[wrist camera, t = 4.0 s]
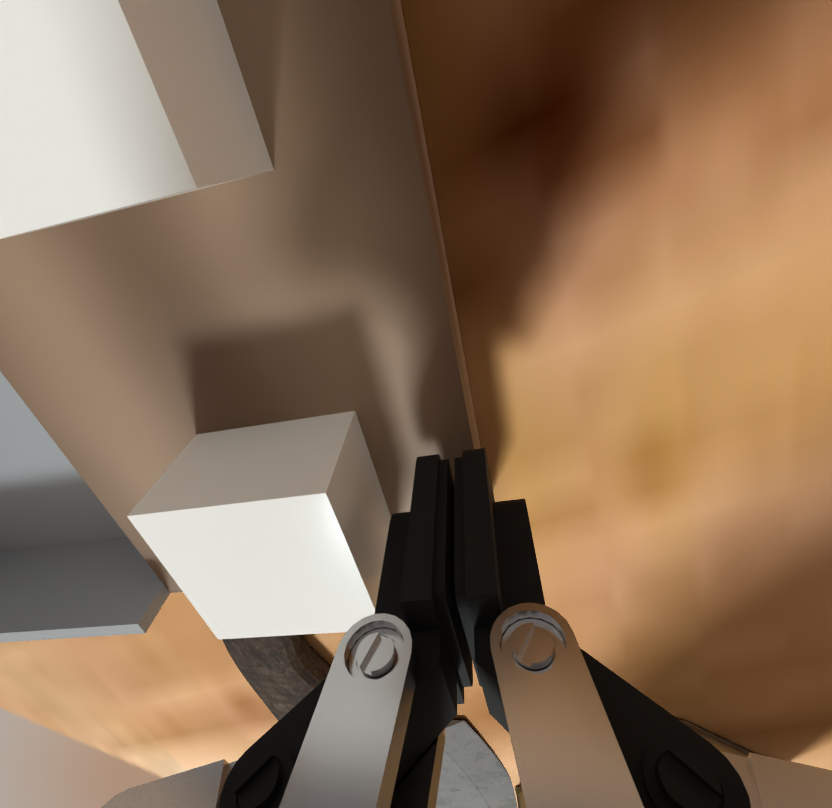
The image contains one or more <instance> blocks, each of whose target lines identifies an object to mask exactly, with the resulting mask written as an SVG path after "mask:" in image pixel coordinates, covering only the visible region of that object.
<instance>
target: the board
mask: <svg viewBox="0 0 832 808" xmlns="http://www.w3.org/2000/svg"><path fill="white" fill-rule="evenodd" d="M217 2H218V5H219V8H220V11H221V14H222V17H223V20H224V23H225V26H226V29H227V32H228V35H229V38H230V41H231V44H232V47H233V50H234V53H235V56H236V59H237V62H238V65H239V68H240V71H241V74H242V77H243V80H244V82H245V85H246V88H247V91H248V94H249V97H250V100H251V103H252V106H253V109H254V112H255V115H256V118H257V121H258V124H259V127H260V130H261V133H262V136H263V139H264V142H265V145H266V148H267V151H268V154H269V157H270V160H271V163H272V166H273V169H274V170H273V171H270V172H266V173H262V174H258V175H254V176H250V177H246V178H242V179H238V180H234V181H231V182H227V183H223V184H219V185H215V186H211V187H207V188H203V189H199V190H195V191H191V192H188V193H184V194H180V195H176V196H172V197H168V198H164V199H160V200H156V201H152V202H149V203H145V204H141V205H137V206H133V207H129V208H125V209H121V210H117V211H113V212H110V213H106V214H102V215H98V216H94V217H90V218H86V219H82V220H78V221H74V222H70V223H66V224H62V225H58V226H54V227H50V228H46V229H41V230H37V231H33V232H29V233H25V234H21V235H17V236H13V237H9V238H5V239H0V371H1V373H2V374H3V375H4V377H5V378H6V379H7V381H8V382H9V383H10V384H11V386H12V387H13V388H14V390H15V391H16V392H17V394H18V395H19V396H20V397H21V399H22V400H23V401H24V403H25V404H26V405H27V407H28V408H29V409H30V411H31V412H32V413H33V414H34V416H35V417H36V418H37V420H38V421H39V422H40V424H41V425H42V426H43V428H44V429H45V430H46V431H47V433H48V434H49V435H50V437H51V438H52V439H53V441H54V442H55V443H56V444H57V446H58V447H59V448H60V450H61V451H62V452H63V454H64V455H65V456H66V458H67V459H68V460H69V461H70V463H71V464H72V465H73V467H74V468H75V469H76V471H77V472H78V473H79V474H80V476H81V477H82V478H83V480H84V481H85V482H86V484H87V485H88V486H89V488H90V489H91V490H92V491H93V493H94V494H95V495H96V497H97V498H98V499H99V501H100V502H101V503H102V504H103V506H104V507H105V508H106V510H107V511H108V512H109V514H110V515H111V516H112V518H113V519H114V520H115V521H116V523H117V524H118V525H119V527H120V528H121V529H122V531H123V532H124V533H125V535H126V536H127V537H128V538H129V540H130V541H131V542H132V544H133V545H134V546H135V548H136V549H137V550H138V551H139V553H140V554H141V555H142V557H143V558H144V559H145V561H146V562H147V563H148V565H149V566H150V567H151V568H152V570H153V571H154V572H155V574H156V575H157V576H158V578H159V579H160V580H161V581H162V583H163V584H164V585H165V587H166V588H167V589H168V591H169V592H170V593H174V592H183V591H182V590H181V589H180V587H179V586H178V584H177V583H176V582H175V580H174V579H173V578H172V576H171V575H170V574H169V572H168V571H167V570H166V568H165V567H164V566H163V564H162V563H161V562H160V560H159V559H158V558H157V556H156V555H155V554H154V552H153V551H152V549H151V548H150V547H149V545H148V544H147V543H146V541H145V540H144V539H143V537H142V536H141V535H140V533H139V532H138V531H137V529H136V528H135V527H134V525H133V524H132V523H131V521H130V520H129V519H128V517H127V515H128V514H129V513H130V512H131V511H132V509H133V508H134V507H135V506H136V505H137V504H138V502H139V501H140V500H141V499H142V498H143V496H144V495H145V494H146V493H147V492H148V491H149V489H150V488H151V487H152V486H153V485H154V484H155V482H156V481H157V480H158V479H159V478H160V476H161V475H162V474H163V473H164V472H165V471H166V469H167V468H168V467H169V466H170V465H171V464H172V462H173V461H174V460H175V459H176V458H177V456H178V455H179V454H180V453H181V452H182V451H183V449H184V448H185V447H186V446H187V445H188V444H189V442H190V441H191V440H192V439H193V438H194V436H195V435H196V434H203V433H209V432H216V431H223V430H229V429H236V428H243V427H250V426H256V425H263V424H270V423H276V422H283V421H290V420H296V419H303V418H310V417H317V416H323V415H330V414H337V413H343V412H350V411H355V412H356V415H357V418H358V421H359V424H360V427H361V430H362V433H363V435H364V438H365V441H366V444H367V447H368V450H369V453H370V456H371V459H372V462H373V465H374V468H375V471H376V474H377V477H378V480H379V483H380V486H381V489H382V492H383V495H384V498H385V501H386V504H387V507H388V510H389V513H390V516H392V514H394V513H403V512H410V508H411V500H412V491H413V483H414V474H415V466H416V459H417V457H421V456H428V455H436V454H439V455H440V457H441V460H443V459H449V462H450V466H451V470H452V475H453V479H454V483H455V458H458V457H462V452H463V451H465V450H473V449H480V448H481V446H480V440H479V434H478V429H477V423H476V418H475V412H474V407H473V401H472V395H471V390H470V384H469V379H468V373H467V368H466V362H465V356H464V351H463V345H462V340H461V334H460V329H459V323H458V318H457V312H456V306H455V301H454V295H453V290H452V284H451V279H450V273H449V267H448V262H447V256H446V251H445V245H444V240H443V234H442V228H441V223H440V217H439V212H438V206H437V201H436V195H435V189H434V184H433V178H432V173H431V167H430V162H429V156H428V150H427V145H426V139H425V134H424V128H423V123H422V117H421V111H420V106H419V100H418V95H417V89H416V84H415V78H414V72H413V67H412V61H411V56H410V50H409V45H408V39H407V33H406V28H405V22H404V17H403V11H402V6H401V0H217Z"/></svg>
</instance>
